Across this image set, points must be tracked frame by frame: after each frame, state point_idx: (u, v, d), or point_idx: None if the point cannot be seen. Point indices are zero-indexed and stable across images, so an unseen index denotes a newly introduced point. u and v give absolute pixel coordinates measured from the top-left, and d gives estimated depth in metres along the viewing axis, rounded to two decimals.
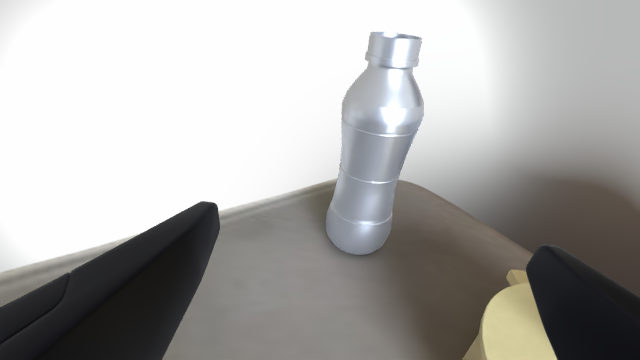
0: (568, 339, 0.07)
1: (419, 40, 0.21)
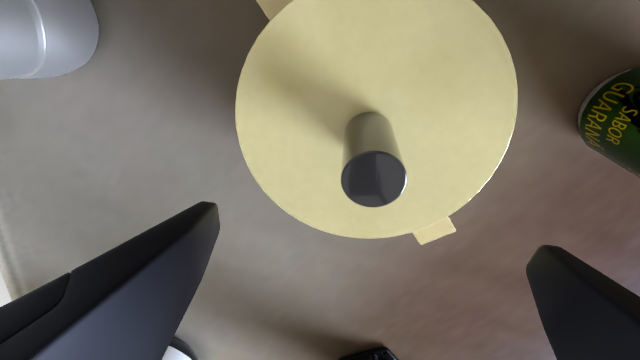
0: (568, 339, 0.07)
1: None
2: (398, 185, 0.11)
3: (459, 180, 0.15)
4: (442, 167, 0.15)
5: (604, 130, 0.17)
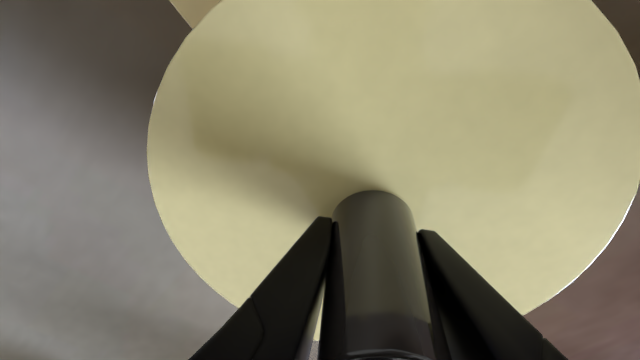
0: None
1: None
2: None
3: (517, 286, 0.10)
4: (491, 268, 0.09)
5: None
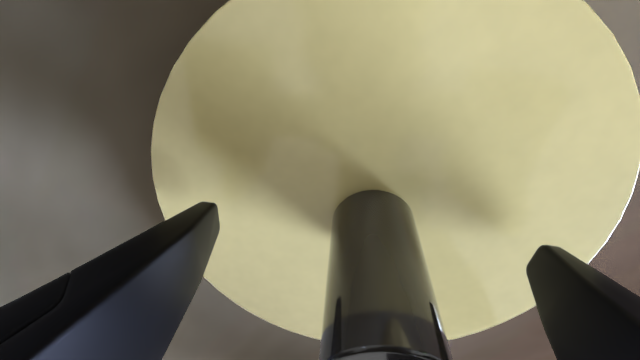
0: (568, 339, 0.07)
1: None
2: None
3: (516, 285, 0.10)
4: (490, 267, 0.10)
5: None
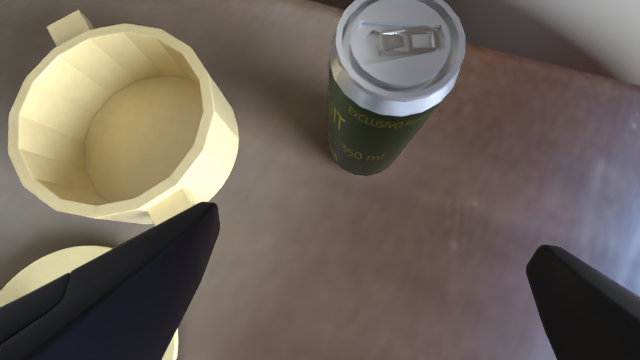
0: (568, 339, 0.07)
1: None
2: None
3: None
4: None
5: (328, 136, 0.20)
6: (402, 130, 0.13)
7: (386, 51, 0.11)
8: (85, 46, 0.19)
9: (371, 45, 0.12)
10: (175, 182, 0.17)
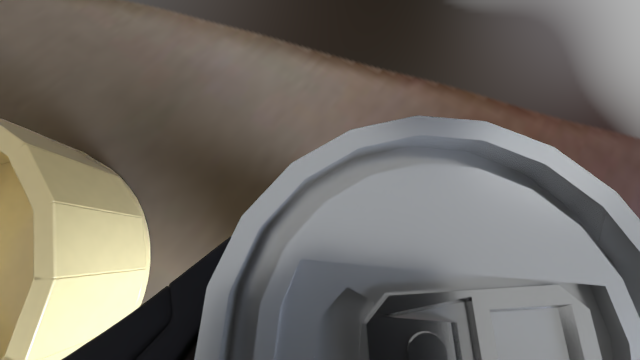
0: None
1: None
2: None
3: None
4: None
5: None
6: None
7: None
8: None
9: (340, 344, 0.03)
10: None
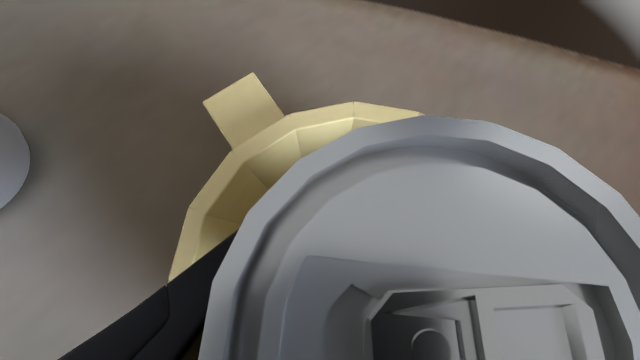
0: None
1: None
2: None
3: None
4: None
5: None
6: None
7: None
8: (282, 141, 0.11)
9: (344, 341, 0.03)
10: None
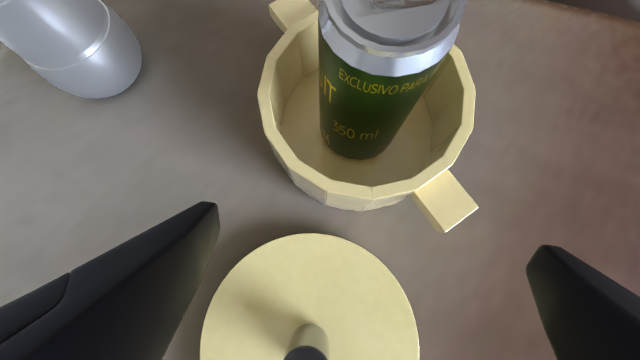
0: (568, 339, 0.07)
1: None
2: None
3: None
4: None
5: (320, 117, 0.19)
6: (396, 97, 0.12)
7: (379, 3, 0.10)
8: None
9: None
10: (450, 162, 0.16)
